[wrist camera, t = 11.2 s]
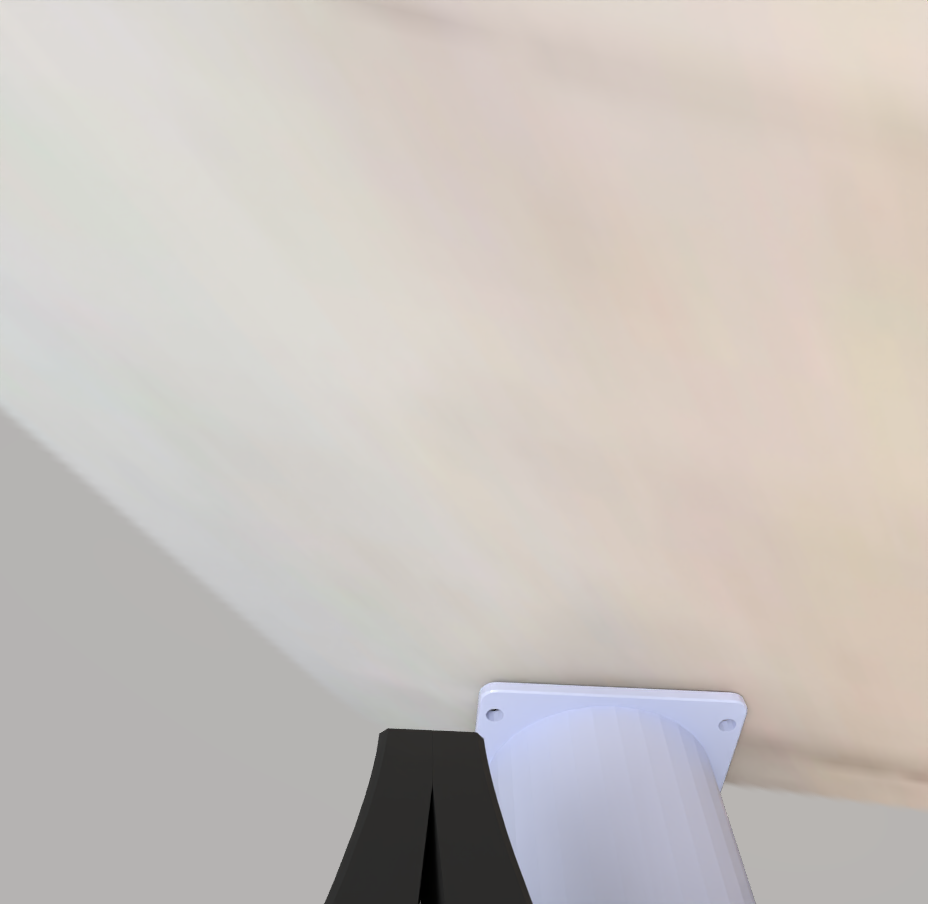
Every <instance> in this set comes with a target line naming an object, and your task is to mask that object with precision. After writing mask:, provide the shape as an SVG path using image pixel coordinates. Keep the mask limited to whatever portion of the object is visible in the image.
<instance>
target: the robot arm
mask: <svg viewBox="0 0 928 904" xmlns="http://www.w3.org/2000/svg"><path fill="white" fill-rule="evenodd" d="M491 709H499V710H498V711H490V710H491ZM746 715H747V706H746V704H745V701H744V699H743V697H742V696H740V695H739V694H736V693H731V692H709V691H687V690H664V689H642V688H620V687H597V686H575V685H553V684H531V683H508V682H492V683H488V684H486V685H484V686H483V687H482V688H481V689H480V692H479V698H478V708H477V718H476V728H475V732H456V731H434V730H433V731H432V730H411V729H389V728H388V729H386V730H385V731H383V732H381V733H380V734H379V740H378V747H377V753H376V758H375V761H374V766H373V770H372V774H371V778H370V781H369V785H368V788H367V791H366V795H365V798H364V802H363V804H362V807H361V810H360V813H359V816H358V819H357V822H356V825H355V828H354V831H353V833H352V836H351V838H350V841H349V844H348V846H347V849H346V851H345V854H344V857H343V859H342V862H341V864H340V867H339V869H338V872H337V875H336V877H335V880H334V882H333V885H332V887H331V890H330V892H329V894H328V897H327V899H326V901H325V903H324V904H756V903H755V900H754V897H753V894H752V890H751V888H750V884H749V881H748V878H747V875H746V872H745V869H744V866H743V863H742V859H741V856H740V853H739V850H738V847H737V844H736V841H735V838H734V835H733V832H732V828H731V825H730V822H729V819H728V816H727V813H726V810H725V807H724V804H723V800H722V797H721V794H720V793H721V790H722V787H723V784H724V781H725V778H726V775H727V772H728V769H729V766H730V763H731V760H732V757H733V754H734V751H735V748H736V745H737V742H738V739H739V736H740V733H741V730H742V727H743V724H744V721H745V718H746ZM726 719H728V720H726ZM723 720H726V721H723Z"/></svg>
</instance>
